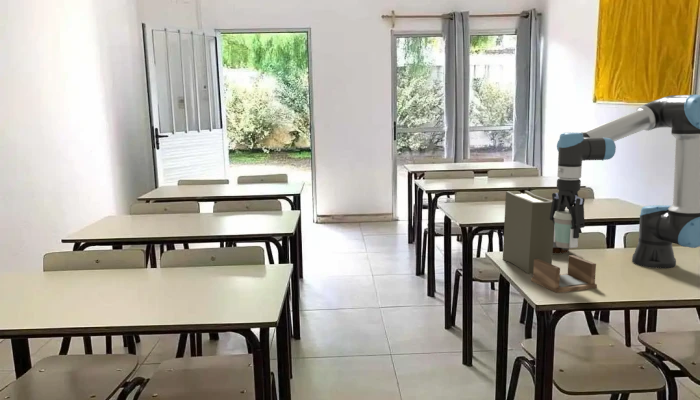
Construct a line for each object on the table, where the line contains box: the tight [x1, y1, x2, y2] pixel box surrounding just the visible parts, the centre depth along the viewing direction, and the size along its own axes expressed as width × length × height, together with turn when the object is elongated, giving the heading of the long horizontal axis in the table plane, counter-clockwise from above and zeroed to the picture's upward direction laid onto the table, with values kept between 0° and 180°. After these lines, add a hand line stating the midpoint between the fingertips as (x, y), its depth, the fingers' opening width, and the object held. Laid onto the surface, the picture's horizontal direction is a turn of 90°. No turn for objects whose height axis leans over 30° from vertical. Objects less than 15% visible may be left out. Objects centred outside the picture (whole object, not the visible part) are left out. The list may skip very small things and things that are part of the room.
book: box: [502, 190, 554, 275], centre depth 222 cm, size 22×9×28 cm, turn 12°
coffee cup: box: [554, 209, 576, 249], centre depth 197 cm, size 9×8×12 cm
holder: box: [530, 254, 598, 294], centre depth 200 cm, size 16×14×8 cm
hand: (565, 244), depth 198 cm, fingers closed on coffee cup, 8 cm apart
